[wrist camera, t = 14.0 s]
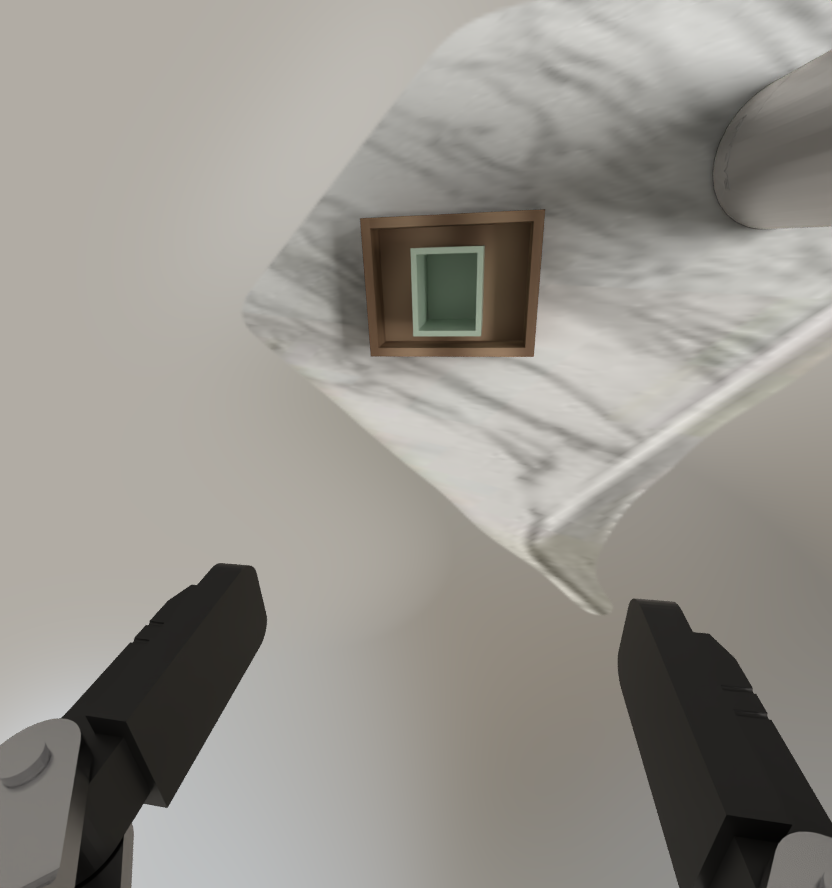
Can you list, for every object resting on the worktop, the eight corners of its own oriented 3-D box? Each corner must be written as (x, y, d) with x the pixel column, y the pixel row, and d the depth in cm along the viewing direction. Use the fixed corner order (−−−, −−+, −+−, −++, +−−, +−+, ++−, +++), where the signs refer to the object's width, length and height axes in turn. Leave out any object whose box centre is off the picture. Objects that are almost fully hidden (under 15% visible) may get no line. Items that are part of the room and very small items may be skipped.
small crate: (484, 245, 35) (483, 246, 29) (482, 322, 37) (480, 336, 32) (422, 247, 35) (410, 248, 30) (424, 323, 38) (413, 336, 33)
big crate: (540, 212, 34) (545, 209, 31) (530, 347, 38) (533, 356, 35) (371, 220, 36) (360, 218, 33) (380, 347, 40) (370, 356, 37)
